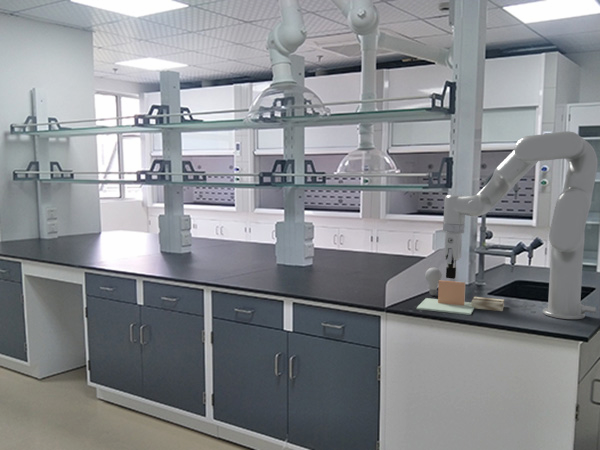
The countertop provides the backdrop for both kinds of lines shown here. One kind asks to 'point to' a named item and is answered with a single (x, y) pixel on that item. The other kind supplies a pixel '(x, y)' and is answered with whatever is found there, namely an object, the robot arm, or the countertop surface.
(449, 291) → the tile
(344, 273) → the countertop surface
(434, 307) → the mat
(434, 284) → the lightbulb
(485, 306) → the stand
